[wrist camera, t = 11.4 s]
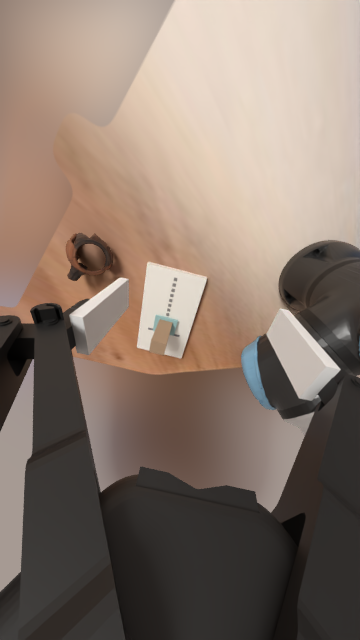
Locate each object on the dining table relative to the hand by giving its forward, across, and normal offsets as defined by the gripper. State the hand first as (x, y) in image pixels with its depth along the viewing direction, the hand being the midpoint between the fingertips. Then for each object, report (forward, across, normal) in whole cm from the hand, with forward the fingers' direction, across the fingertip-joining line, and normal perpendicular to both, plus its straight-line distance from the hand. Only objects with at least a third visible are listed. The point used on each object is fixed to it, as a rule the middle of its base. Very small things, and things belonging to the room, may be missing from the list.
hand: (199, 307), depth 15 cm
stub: (+25, +6, +20) cm, 33 cm away
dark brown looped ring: (+27, +26, +5) cm, 38 cm away
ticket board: (+27, +6, +18) cm, 33 cm away
